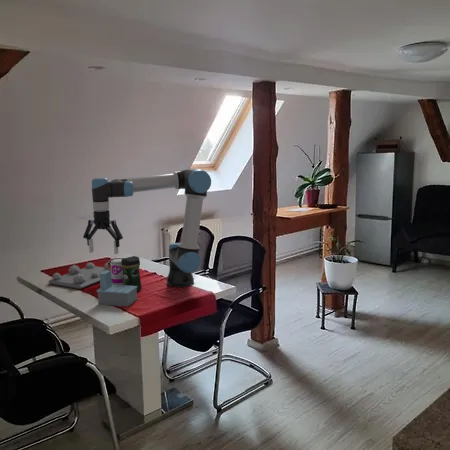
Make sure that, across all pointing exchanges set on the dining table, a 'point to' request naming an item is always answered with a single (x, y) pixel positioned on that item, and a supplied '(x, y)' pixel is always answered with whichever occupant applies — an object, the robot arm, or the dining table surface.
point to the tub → (117, 298)
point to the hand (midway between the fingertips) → (103, 253)
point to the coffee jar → (131, 271)
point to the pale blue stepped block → (109, 288)
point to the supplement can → (116, 272)
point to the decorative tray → (79, 276)
